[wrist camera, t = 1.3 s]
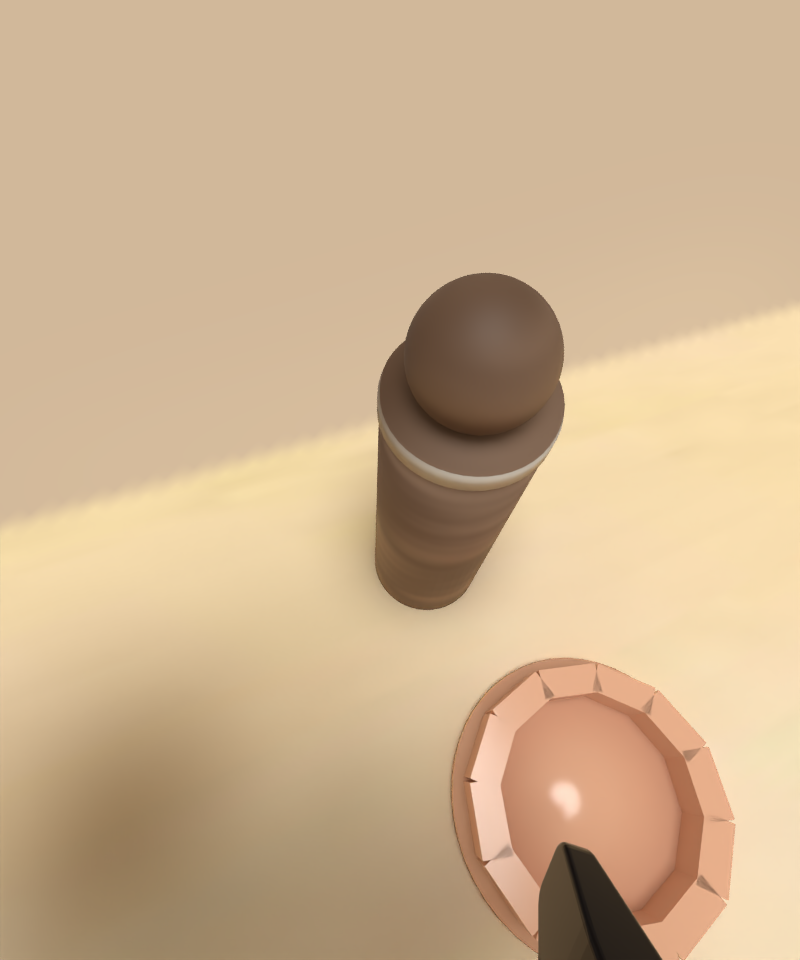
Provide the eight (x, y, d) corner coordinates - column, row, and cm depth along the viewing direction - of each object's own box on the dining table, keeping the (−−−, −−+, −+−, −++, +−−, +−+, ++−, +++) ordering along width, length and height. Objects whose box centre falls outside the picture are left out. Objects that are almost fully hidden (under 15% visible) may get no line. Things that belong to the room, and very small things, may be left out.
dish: (769, 826, 19) (806, 832, 17) (589, 1056, 16) (613, 1090, 14) (577, 612, 22) (593, 601, 21) (398, 768, 19) (400, 769, 18)
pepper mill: (496, 570, 23) (667, 319, 10) (416, 632, 21) (489, 436, 8) (432, 495, 24) (505, 192, 11) (353, 549, 23) (332, 273, 10)
